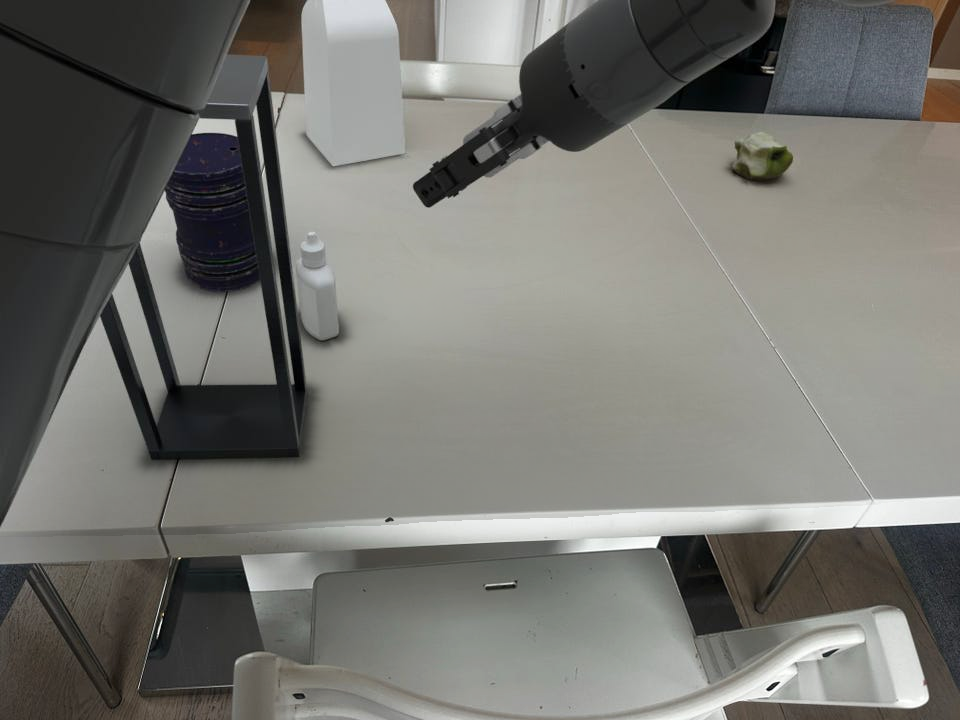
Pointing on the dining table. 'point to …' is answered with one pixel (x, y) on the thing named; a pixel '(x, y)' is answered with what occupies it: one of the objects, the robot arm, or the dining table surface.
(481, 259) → the dining table surface
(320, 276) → the eye dropper bottle
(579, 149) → the robot arm
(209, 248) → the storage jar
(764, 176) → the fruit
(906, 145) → the dining table surface
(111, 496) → the dining table surface
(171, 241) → the dining table surface
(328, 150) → the milk
